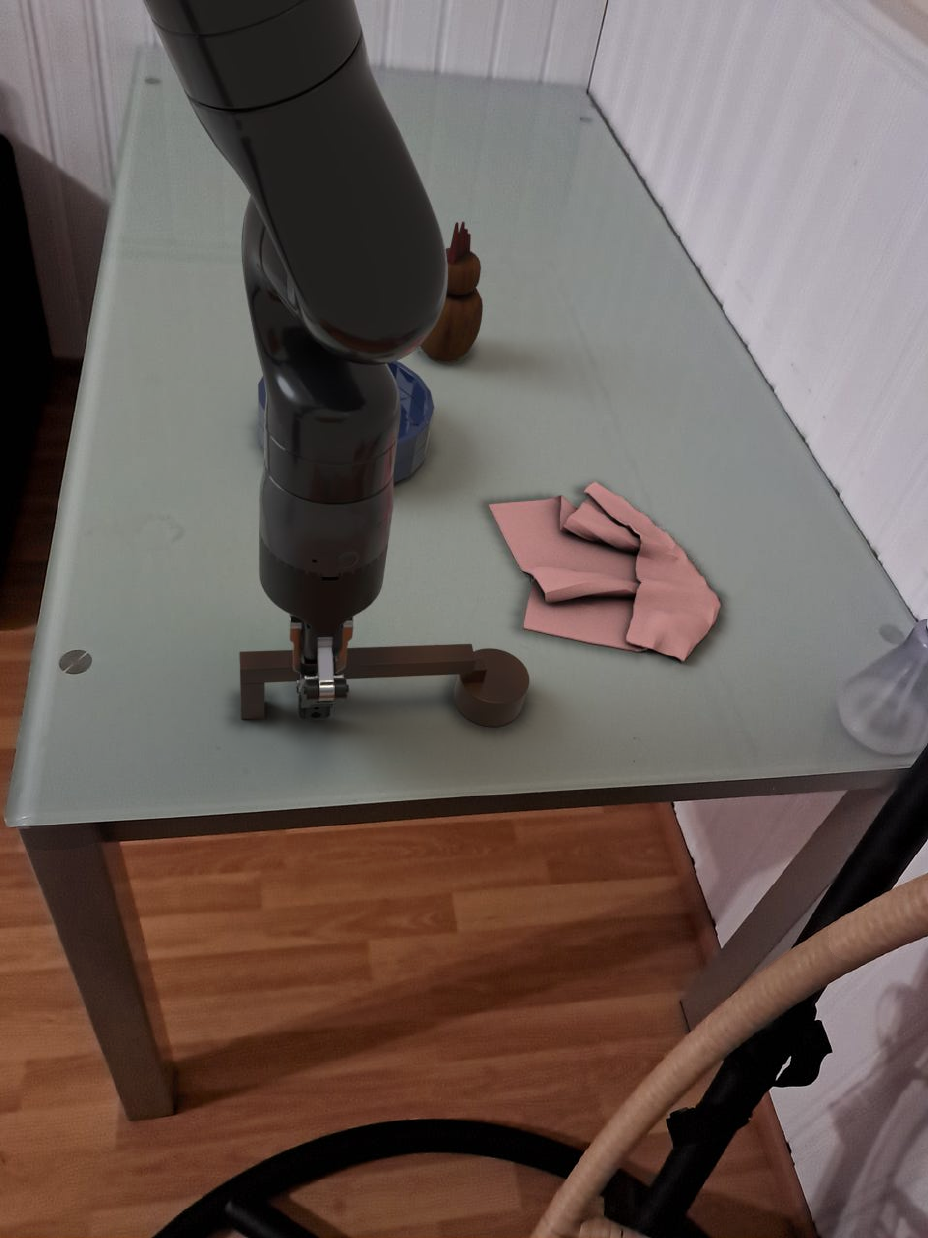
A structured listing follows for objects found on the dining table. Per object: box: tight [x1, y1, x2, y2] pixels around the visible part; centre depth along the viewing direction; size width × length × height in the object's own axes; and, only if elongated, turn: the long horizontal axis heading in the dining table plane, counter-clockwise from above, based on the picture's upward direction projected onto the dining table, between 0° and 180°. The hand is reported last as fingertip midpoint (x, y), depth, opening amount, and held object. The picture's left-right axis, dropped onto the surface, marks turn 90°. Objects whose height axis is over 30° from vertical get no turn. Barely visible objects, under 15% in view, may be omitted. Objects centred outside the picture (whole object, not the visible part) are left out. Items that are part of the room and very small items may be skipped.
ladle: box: [238, 643, 530, 727], centre depth 67 cm, size 21×5×6 cm, turn 100°
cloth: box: [488, 481, 722, 663], centre depth 82 cm, size 20×22×2 cm
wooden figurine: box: [419, 221, 484, 363], centre depth 96 cm, size 7×6×15 cm
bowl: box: [257, 360, 435, 484], centre depth 87 cm, size 16×16×5 cm
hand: (312, 702), depth 68 cm, fingers closed on ladle, 1 cm apart
